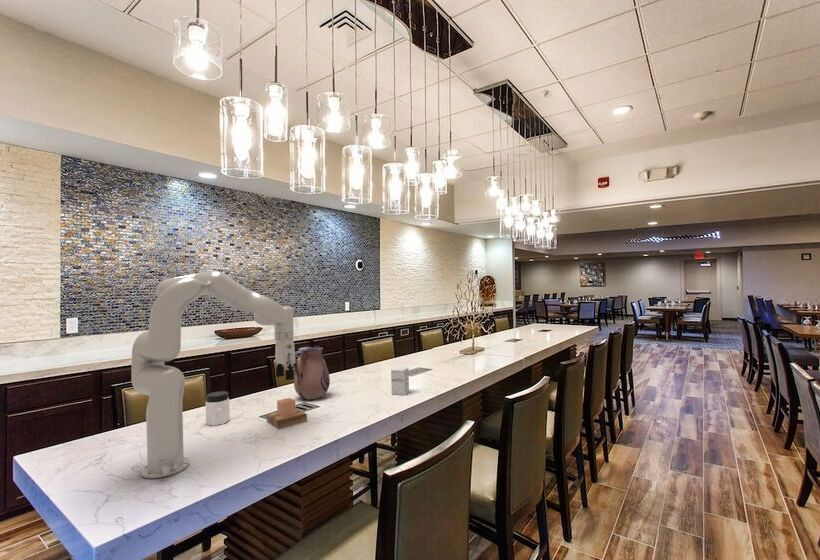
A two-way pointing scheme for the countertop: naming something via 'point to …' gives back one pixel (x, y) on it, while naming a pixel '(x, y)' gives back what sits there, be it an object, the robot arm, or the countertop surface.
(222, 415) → the jar
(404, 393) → the supplement box
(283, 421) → the block
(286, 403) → the cube
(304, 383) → the ceramic pitcher
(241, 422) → the countertop surface
